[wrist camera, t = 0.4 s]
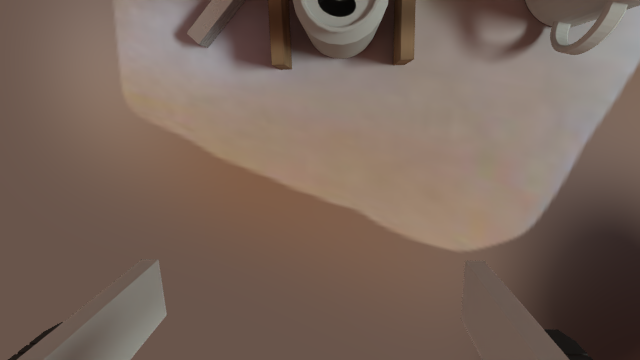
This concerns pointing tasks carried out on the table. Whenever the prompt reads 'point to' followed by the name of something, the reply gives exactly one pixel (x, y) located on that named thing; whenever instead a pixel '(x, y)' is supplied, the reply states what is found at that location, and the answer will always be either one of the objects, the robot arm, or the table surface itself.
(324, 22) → the can
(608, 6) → the mug
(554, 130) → the table surface
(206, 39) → the v block
